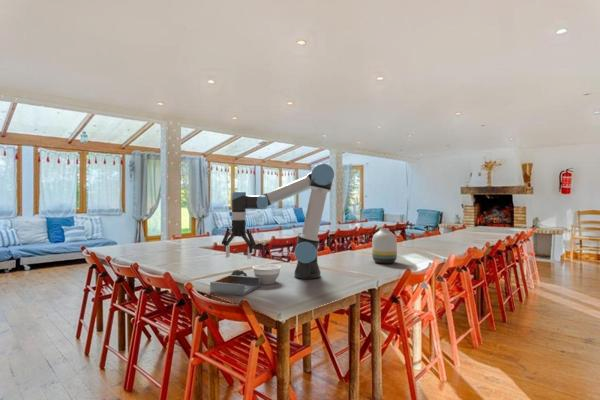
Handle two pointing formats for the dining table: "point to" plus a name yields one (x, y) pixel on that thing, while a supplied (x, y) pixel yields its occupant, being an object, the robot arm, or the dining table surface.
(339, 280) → the dining table surface
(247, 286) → the grey hollow tray
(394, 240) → the vase
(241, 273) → the rock
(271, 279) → the bowl
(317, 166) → the robot arm
